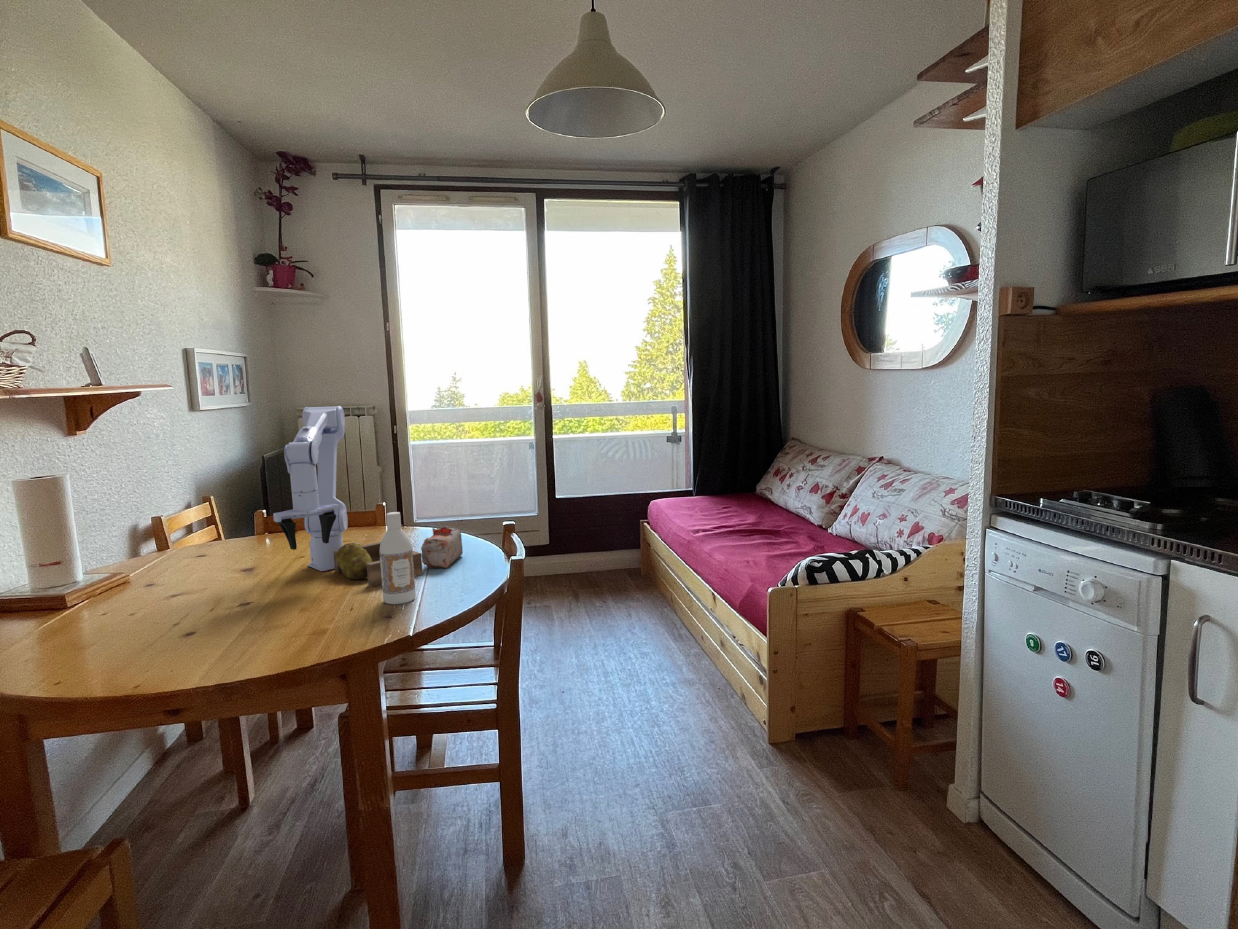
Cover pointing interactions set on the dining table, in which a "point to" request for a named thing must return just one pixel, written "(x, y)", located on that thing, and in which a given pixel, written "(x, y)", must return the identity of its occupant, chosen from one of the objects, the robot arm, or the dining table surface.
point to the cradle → (375, 566)
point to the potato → (353, 561)
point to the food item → (442, 548)
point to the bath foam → (396, 563)
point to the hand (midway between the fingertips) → (309, 545)
